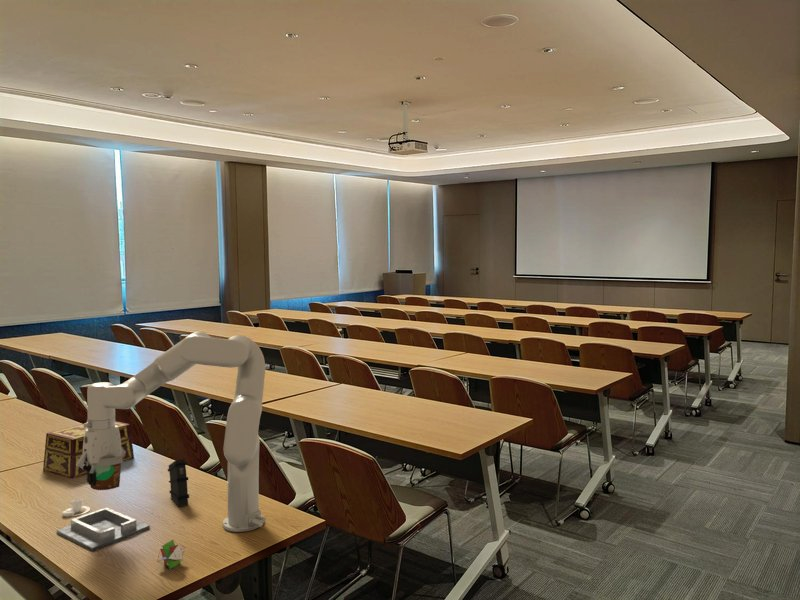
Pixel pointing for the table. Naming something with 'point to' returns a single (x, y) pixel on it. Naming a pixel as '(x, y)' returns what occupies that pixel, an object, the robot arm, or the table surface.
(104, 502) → the table surface
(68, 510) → the white curved piece
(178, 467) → the black tall block
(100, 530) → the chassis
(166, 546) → the geometric puzzle
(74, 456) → the decorative box
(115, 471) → the food container
